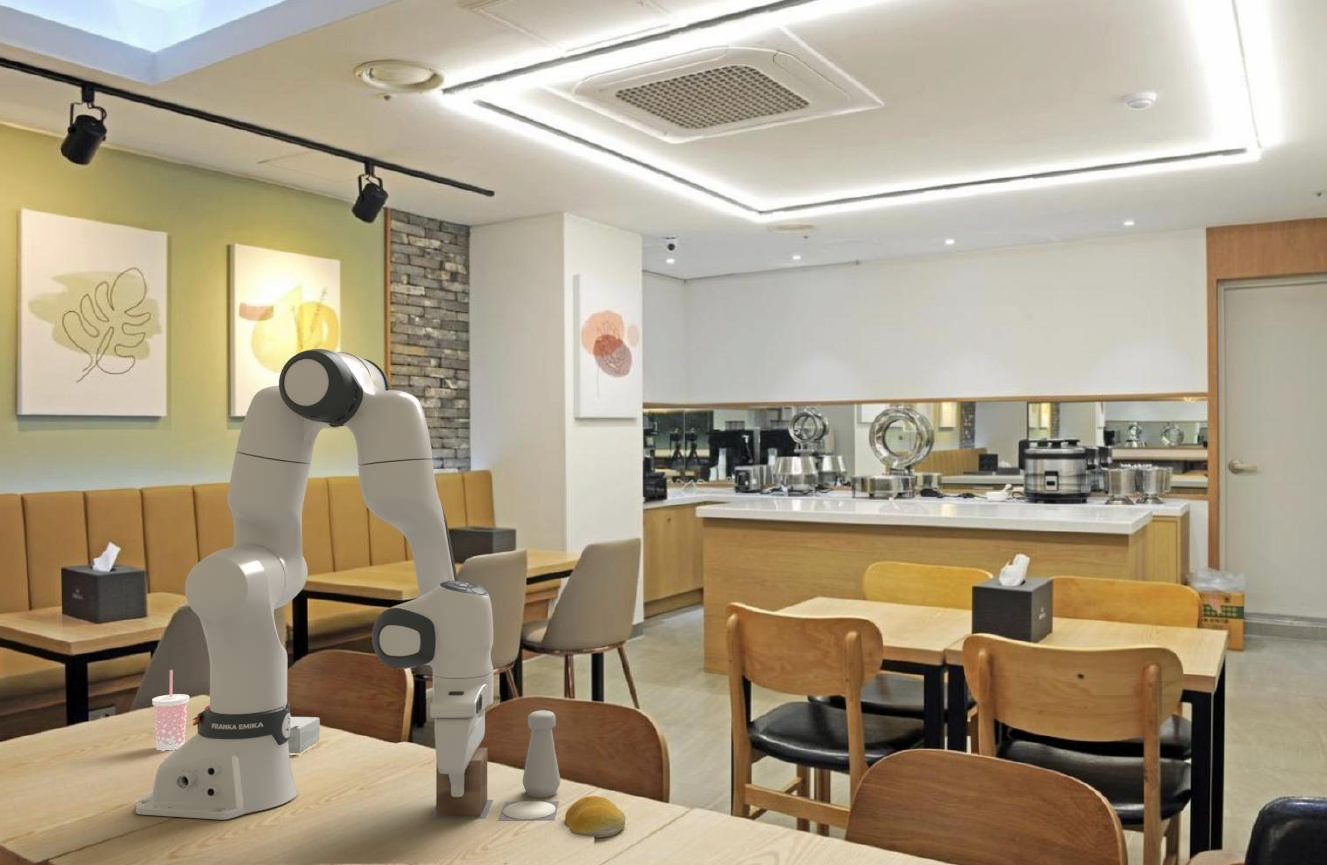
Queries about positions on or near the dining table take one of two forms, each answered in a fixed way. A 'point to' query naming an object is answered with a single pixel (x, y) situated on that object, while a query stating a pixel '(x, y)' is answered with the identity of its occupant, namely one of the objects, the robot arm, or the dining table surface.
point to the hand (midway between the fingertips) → (462, 786)
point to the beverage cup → (170, 719)
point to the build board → (529, 811)
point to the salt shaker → (541, 757)
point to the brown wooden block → (474, 789)
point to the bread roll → (595, 817)
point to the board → (466, 816)
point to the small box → (303, 733)
